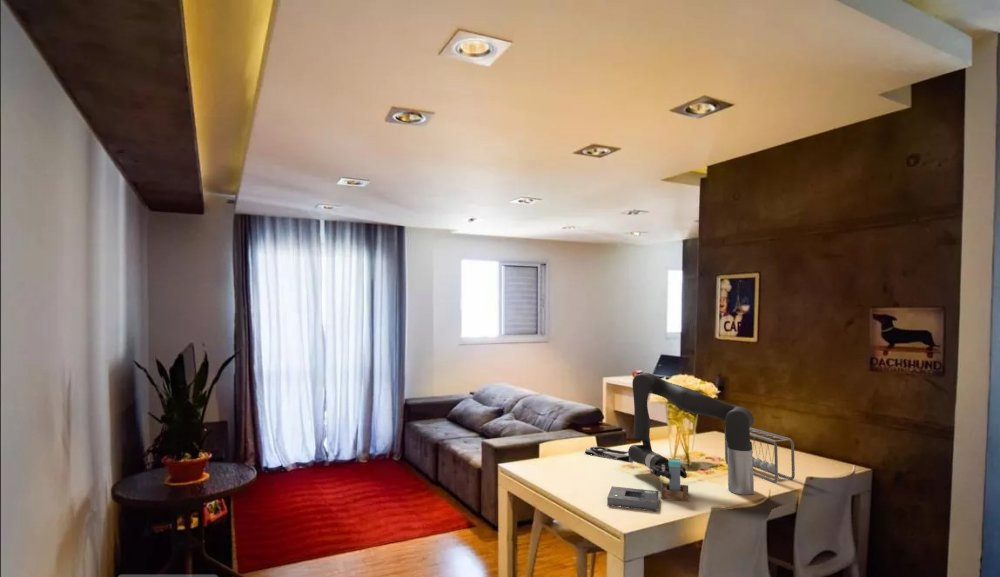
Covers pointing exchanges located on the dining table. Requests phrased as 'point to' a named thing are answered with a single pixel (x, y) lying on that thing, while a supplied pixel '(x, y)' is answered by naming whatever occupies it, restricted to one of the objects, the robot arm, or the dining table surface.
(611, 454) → the graphics card
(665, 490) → the holster
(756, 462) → the newton's cradle
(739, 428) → the robot arm
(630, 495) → the port panel
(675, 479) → the plug
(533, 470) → the dining table surface
